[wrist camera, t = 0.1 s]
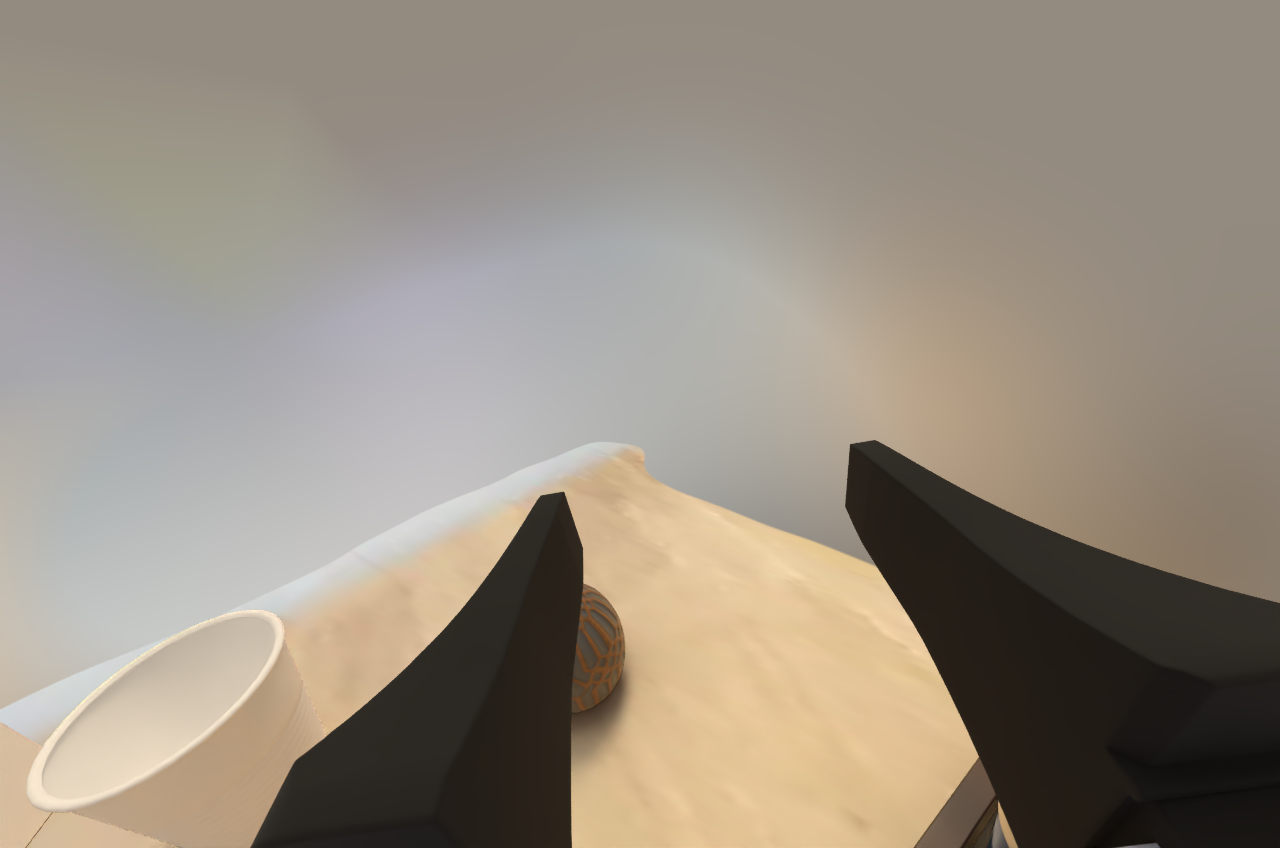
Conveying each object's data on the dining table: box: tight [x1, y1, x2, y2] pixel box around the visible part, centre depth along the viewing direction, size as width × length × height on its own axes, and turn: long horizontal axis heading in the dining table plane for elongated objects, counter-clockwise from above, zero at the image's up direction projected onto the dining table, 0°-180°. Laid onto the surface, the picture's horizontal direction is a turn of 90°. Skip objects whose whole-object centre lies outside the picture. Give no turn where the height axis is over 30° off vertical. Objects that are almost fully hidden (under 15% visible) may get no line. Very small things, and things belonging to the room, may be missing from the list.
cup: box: [26, 610, 327, 848], centre depth 26 cm, size 10×10×11 cm
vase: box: [572, 584, 625, 713], centre depth 30 cm, size 7×7×9 cm
